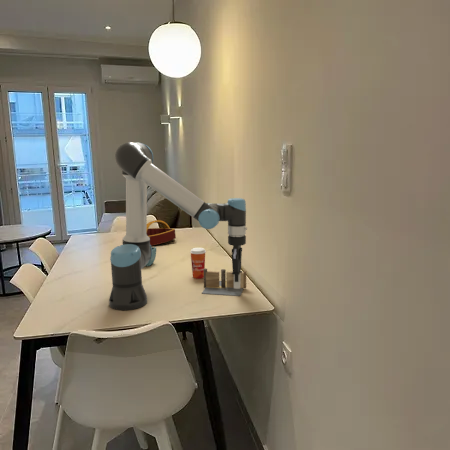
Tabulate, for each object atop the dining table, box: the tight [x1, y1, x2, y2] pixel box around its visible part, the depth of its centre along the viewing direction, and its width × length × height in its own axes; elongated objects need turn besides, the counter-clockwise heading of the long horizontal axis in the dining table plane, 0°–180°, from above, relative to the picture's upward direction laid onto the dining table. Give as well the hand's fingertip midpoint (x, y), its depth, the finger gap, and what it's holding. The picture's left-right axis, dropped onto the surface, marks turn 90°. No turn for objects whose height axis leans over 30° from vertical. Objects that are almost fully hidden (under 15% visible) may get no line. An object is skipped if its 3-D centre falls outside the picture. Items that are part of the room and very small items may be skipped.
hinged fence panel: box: [226, 270, 247, 289], centre depth 176 cm, size 9×2×8 cm, turn 79°
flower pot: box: [144, 246, 157, 267], centre depth 213 cm, size 9×9×9 cm
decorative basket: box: [146, 219, 176, 246], centre depth 264 cm, size 34×29×15 cm
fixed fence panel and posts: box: [203, 268, 227, 288], centre depth 178 cm, size 2×10×8 cm, turn 79°
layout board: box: [201, 280, 244, 297], centre depth 178 cm, size 17×17×1 cm
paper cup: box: [189, 247, 207, 280], centre depth 192 cm, size 8×8×14 cm
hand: (237, 287), depth 171 cm, fingers closed
